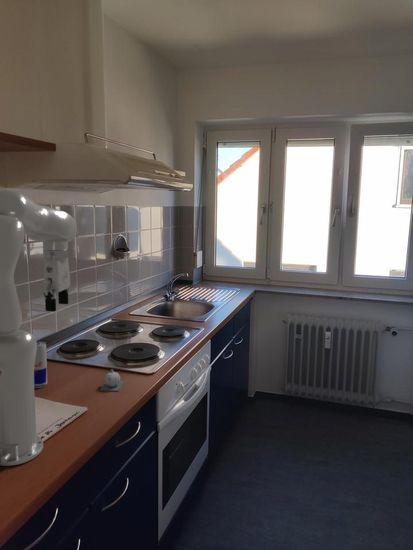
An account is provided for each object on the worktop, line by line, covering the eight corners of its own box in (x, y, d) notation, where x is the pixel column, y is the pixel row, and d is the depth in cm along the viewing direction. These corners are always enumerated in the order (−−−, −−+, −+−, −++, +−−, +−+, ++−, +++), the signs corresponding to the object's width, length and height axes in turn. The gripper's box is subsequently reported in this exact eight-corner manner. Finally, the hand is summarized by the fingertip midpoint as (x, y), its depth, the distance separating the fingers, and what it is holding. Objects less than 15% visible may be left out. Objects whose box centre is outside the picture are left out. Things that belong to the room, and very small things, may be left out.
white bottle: (29, 385, 146) (27, 343, 144) (43, 381, 150) (42, 340, 147) (35, 390, 142) (33, 347, 140) (50, 385, 146) (48, 343, 144)
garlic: (107, 381, 150) (106, 367, 149) (122, 381, 150) (122, 367, 149) (102, 388, 144) (101, 373, 143) (117, 389, 144) (117, 374, 143)
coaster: (117, 391, 143) (117, 390, 143) (100, 390, 144) (100, 389, 144) (124, 381, 151) (124, 380, 151) (107, 380, 151) (107, 379, 151)
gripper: (55, 258, 127) (57, 314, 130) (77, 252, 144) (78, 301, 147) (31, 257, 128) (33, 313, 131) (55, 251, 145) (57, 300, 148)
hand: (57, 307), depth 139 cm, fingers open, 9 cm apart
